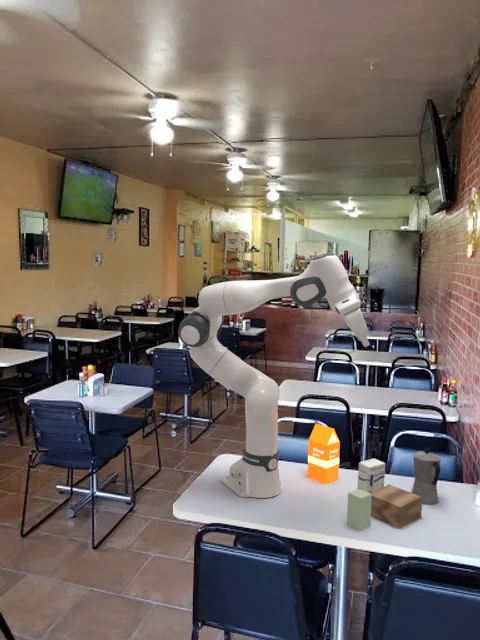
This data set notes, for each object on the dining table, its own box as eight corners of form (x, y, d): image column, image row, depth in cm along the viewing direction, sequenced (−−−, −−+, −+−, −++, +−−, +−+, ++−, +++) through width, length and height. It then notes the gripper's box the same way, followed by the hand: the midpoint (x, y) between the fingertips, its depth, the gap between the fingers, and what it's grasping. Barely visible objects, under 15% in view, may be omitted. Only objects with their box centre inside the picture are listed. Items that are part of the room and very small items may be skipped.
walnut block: (366, 514, 162) (367, 493, 161) (388, 504, 169) (389, 484, 169) (399, 529, 153) (400, 507, 152) (421, 518, 160) (422, 497, 160)
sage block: (346, 524, 155) (348, 492, 154) (356, 519, 158) (358, 488, 157) (360, 530, 151) (361, 498, 150) (370, 526, 154) (371, 494, 153)
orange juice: (320, 472, 196) (321, 421, 195) (338, 479, 190) (340, 427, 188) (307, 477, 191) (308, 425, 189) (325, 484, 184) (327, 430, 183)
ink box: (367, 500, 172) (368, 466, 171) (356, 495, 176) (357, 462, 175) (384, 495, 176) (385, 462, 176) (373, 490, 181) (374, 457, 180)
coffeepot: (403, 491, 180) (405, 441, 179) (428, 490, 181) (431, 441, 180) (423, 511, 165) (425, 457, 163) (450, 510, 166) (453, 456, 164)
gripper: (331, 303, 165) (349, 340, 166) (339, 311, 144) (360, 354, 146) (349, 294, 164) (367, 332, 165) (359, 301, 144) (380, 344, 145)
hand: (364, 342), depth 155 cm, fingers open, 8 cm apart
